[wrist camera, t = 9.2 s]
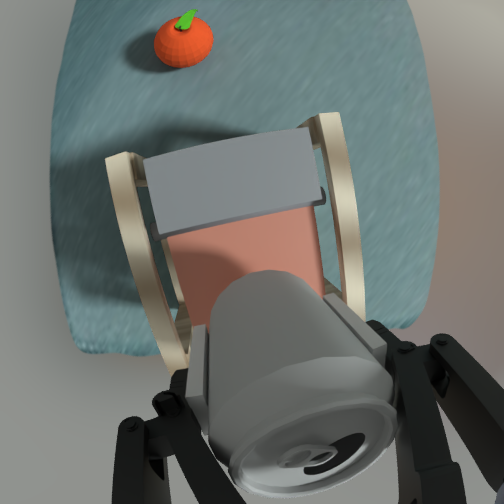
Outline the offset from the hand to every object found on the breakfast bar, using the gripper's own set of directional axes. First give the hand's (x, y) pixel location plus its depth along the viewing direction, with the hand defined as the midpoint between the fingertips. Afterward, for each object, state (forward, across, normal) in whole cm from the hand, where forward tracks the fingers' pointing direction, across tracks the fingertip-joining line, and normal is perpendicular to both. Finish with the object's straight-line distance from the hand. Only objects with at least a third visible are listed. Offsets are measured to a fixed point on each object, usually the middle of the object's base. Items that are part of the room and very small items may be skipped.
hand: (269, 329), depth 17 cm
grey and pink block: (+8, 0, +4) cm, 8 cm away
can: (+2, 0, 0) cm, 2 cm away
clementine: (+18, -2, +28) cm, 33 cm away
